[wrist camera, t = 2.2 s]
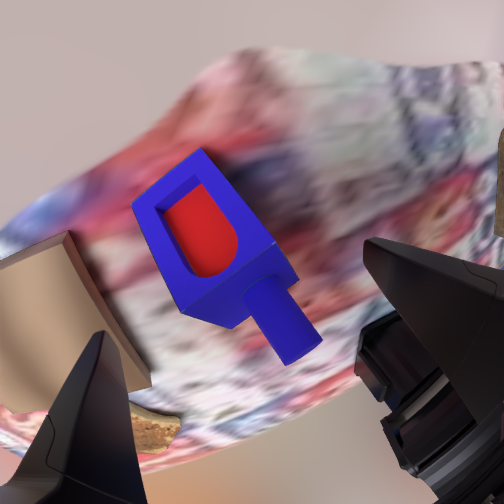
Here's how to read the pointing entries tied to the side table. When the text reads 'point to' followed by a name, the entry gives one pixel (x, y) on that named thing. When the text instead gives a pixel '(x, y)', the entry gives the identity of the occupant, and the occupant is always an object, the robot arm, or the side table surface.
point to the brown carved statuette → (500, 190)
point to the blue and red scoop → (221, 256)
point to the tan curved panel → (52, 324)
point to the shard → (152, 430)
